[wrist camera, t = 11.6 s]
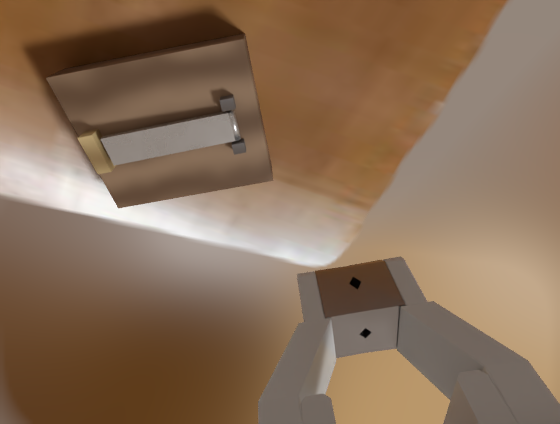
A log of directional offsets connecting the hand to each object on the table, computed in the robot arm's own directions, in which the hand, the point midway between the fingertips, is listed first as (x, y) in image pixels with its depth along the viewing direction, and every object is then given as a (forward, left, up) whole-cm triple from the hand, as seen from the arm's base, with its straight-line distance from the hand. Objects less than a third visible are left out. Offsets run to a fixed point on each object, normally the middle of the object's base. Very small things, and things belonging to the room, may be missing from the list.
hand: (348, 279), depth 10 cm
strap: (+5, -13, -29) cm, 32 cm away
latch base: (+5, -13, -33) cm, 36 cm away
